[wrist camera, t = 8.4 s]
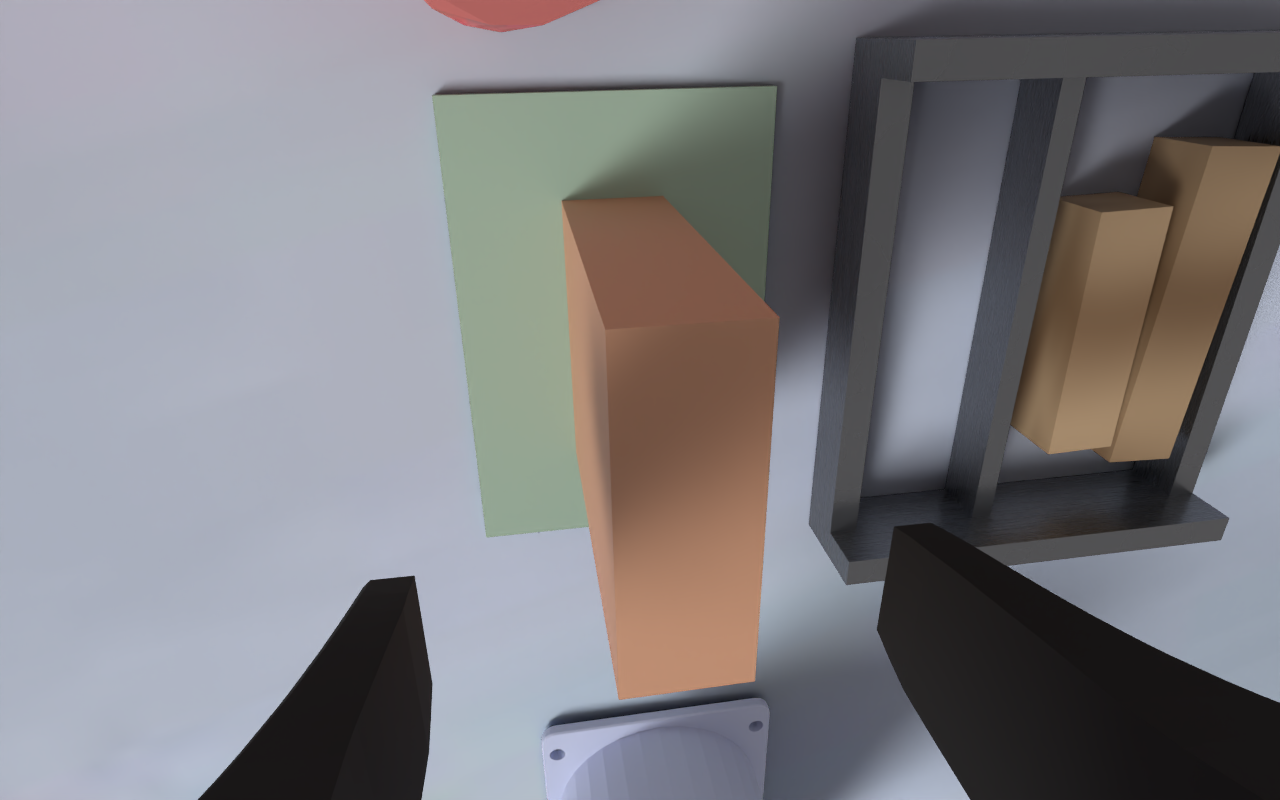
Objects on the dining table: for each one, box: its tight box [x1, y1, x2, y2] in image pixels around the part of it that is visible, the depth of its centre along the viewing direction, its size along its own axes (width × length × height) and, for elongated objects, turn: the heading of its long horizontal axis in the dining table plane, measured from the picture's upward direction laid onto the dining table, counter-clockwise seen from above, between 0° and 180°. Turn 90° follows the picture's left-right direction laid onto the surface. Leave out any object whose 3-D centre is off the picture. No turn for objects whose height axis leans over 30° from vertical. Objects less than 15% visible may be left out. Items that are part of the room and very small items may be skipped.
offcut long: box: [1092, 137, 1280, 462], centre depth 22 cm, size 9×2×2 cm, turn 179°
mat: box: [432, 85, 777, 537], centre depth 21 cm, size 12×8×1 cm, turn 1°
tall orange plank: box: [561, 196, 780, 700], centre depth 16 cm, size 7×2×9 cm, turn 1°
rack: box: [809, 30, 1280, 585], centre depth 21 cm, size 14×12×3 cm
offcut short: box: [1010, 192, 1174, 454], centre depth 22 cm, size 7×2×2 cm, turn 3°
